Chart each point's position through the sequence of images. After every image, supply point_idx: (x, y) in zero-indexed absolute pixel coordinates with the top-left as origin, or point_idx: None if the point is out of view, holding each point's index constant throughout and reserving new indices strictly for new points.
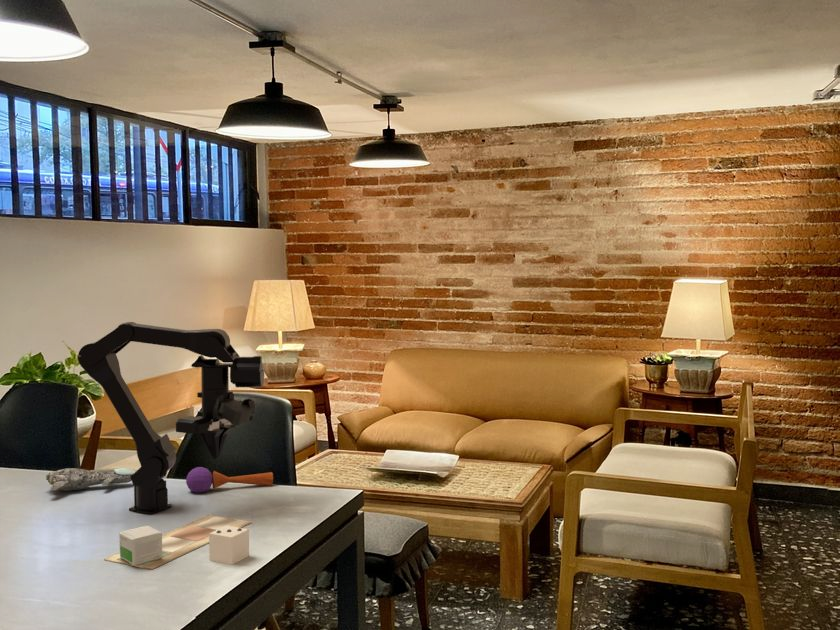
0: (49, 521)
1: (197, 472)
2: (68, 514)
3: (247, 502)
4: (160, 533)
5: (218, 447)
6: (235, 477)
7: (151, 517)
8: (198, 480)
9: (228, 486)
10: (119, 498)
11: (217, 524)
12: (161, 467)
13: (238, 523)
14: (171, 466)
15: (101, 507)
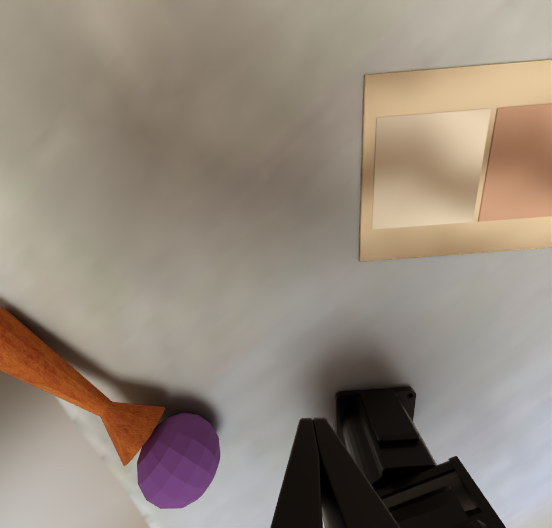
0: (517, 502)
1: (192, 480)
2: None
3: (188, 254)
4: None
5: (343, 498)
6: (85, 400)
7: (426, 374)
8: (205, 447)
9: None
10: None
11: (438, 165)
12: (503, 525)
13: (399, 108)
14: (398, 522)
15: None
